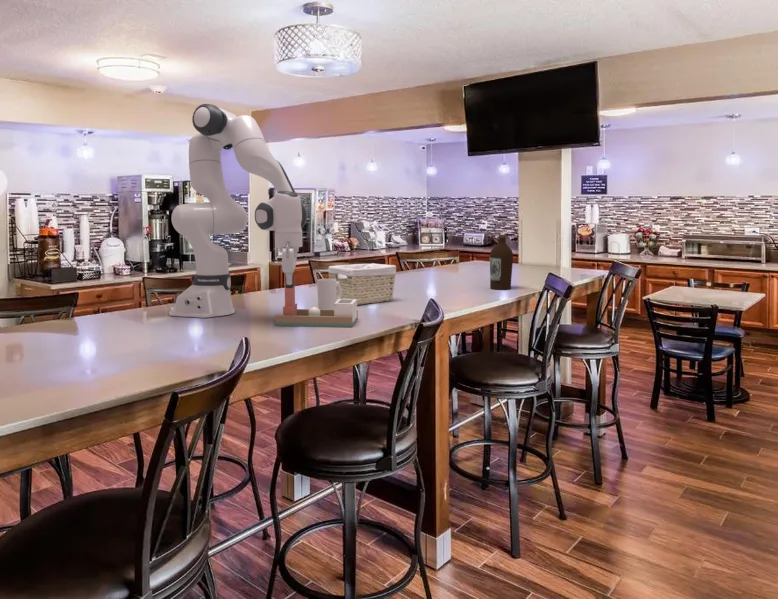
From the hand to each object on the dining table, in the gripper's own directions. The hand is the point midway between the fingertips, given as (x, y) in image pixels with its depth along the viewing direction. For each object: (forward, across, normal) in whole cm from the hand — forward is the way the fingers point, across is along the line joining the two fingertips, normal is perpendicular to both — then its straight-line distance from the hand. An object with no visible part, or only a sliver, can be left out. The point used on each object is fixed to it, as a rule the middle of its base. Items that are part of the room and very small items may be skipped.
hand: (289, 283), depth 206 cm
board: (+13, -2, -9) cm, 16 cm away
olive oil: (+13, +74, -93) cm, 120 cm away
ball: (+10, -2, -8) cm, 13 cm away
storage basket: (+13, +42, -27) cm, 51 cm away
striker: (+11, 0, 0) cm, 11 cm away
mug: (+13, +17, -14) cm, 25 cm away
